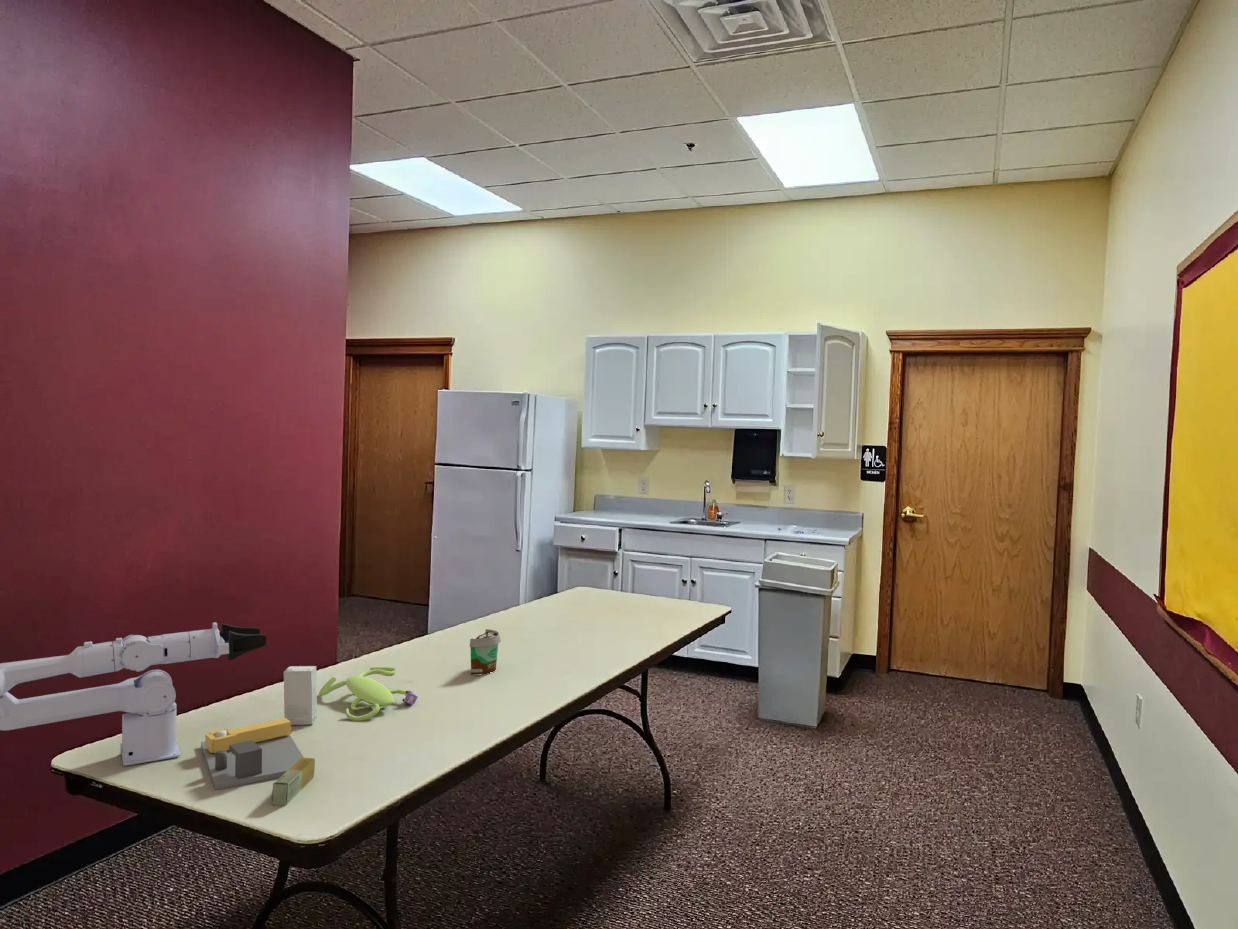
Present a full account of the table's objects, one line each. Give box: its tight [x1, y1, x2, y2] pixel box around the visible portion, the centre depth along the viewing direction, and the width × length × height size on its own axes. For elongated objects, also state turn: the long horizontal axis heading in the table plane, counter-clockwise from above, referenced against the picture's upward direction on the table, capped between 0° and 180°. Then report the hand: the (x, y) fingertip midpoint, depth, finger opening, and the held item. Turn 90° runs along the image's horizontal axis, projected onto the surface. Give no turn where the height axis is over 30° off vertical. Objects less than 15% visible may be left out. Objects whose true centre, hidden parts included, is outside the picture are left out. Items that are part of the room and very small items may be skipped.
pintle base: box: [200, 730, 305, 791], centre depth 159 cm, size 16×23×6 cm
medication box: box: [271, 756, 316, 807], centre depth 145 cm, size 12×3×4 cm, turn 178°
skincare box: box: [283, 665, 318, 726], centre depth 179 cm, size 6×4×12 cm
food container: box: [469, 628, 502, 675], centre depth 221 cm, size 12×6×10 cm, turn 168°
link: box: [204, 717, 292, 753], centre depth 164 cm, size 15×5×3 cm, turn 133°
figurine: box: [318, 666, 419, 722], centre depth 195 cm, size 18×27×6 cm
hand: (262, 636), depth 170 cm, fingers open, 7 cm apart
